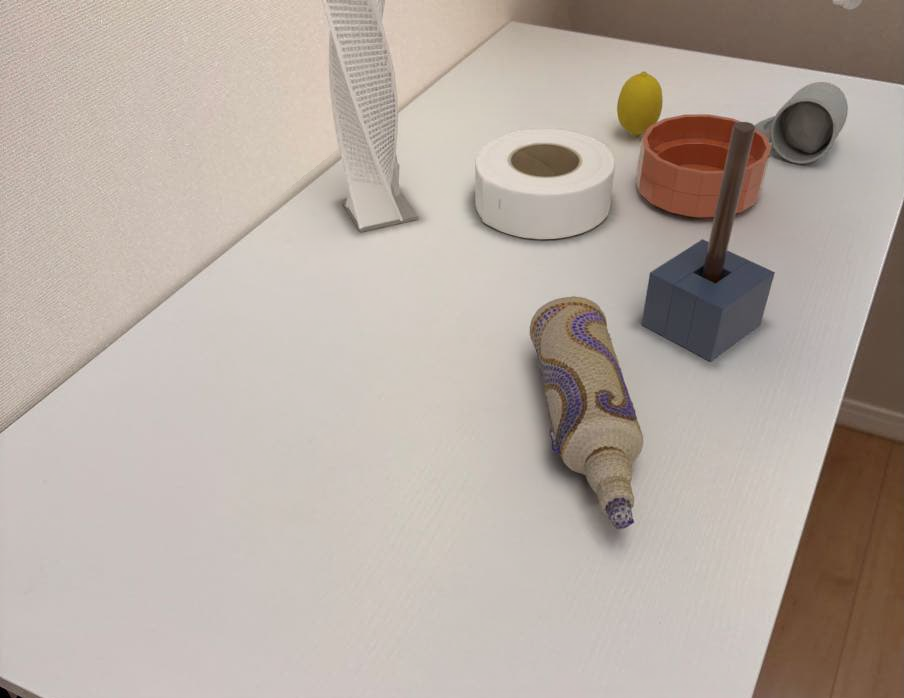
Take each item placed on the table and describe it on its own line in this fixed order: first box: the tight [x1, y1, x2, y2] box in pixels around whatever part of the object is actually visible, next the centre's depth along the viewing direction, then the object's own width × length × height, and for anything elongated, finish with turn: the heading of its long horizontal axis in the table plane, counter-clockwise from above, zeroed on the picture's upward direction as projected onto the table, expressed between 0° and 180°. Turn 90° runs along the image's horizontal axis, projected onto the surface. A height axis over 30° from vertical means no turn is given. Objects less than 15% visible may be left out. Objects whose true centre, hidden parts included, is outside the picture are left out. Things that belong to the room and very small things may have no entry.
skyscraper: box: [321, 0, 419, 233], centre depth 98 cm, size 8×8×28 cm
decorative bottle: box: [529, 295, 644, 530], centre depth 80 cm, size 26×8×7 cm, turn 4°
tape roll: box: [474, 128, 616, 240], centre depth 107 cm, size 16×16×6 cm
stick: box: [702, 121, 755, 284], centre depth 86 cm, size 2×2×20 cm
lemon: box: [616, 70, 664, 138], centre depth 117 cm, size 6×6×8 cm
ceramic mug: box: [753, 81, 849, 165], centre depth 115 cm, size 11×8×8 cm
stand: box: [641, 238, 776, 363], centre depth 91 cm, size 8×8×6 cm
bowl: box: [635, 113, 773, 219], centre depth 109 cm, size 14×14×6 cm
